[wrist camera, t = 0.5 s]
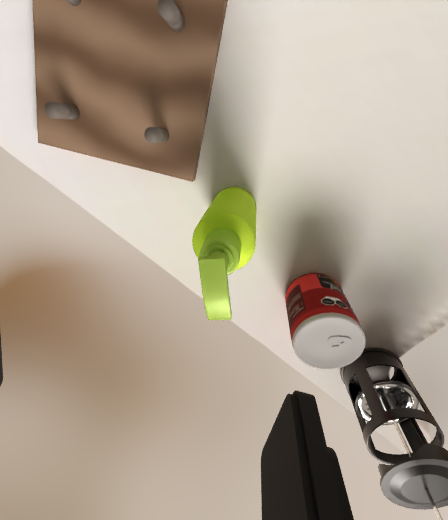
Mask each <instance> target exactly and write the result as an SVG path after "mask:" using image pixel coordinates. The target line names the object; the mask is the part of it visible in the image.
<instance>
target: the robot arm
mask: <svg viewBox="0 0 448 520" xmlns="http://www.w3.org/2000/svg"><path fill="white" fill-rule="evenodd" d="M2 371H3V370H2V352H1V336H0V385H1V384H2V381H3V372H2ZM261 486H262V487H261V492H262V520H354V519H353V515H352V511H351V507H350V504H349V500H348V496H347V492H346V488H345V485H344V481H343V477H342V474H341V470H340V466H339V462H338V458H337V456H336V453H335V451H334V450H333V449H332V448H330V447H327V446H326V442H325V437H324V433H323V429H322V425H321V420H320V416H319V412H318V408H317V404H316V400H315V397H314V396H313V395H311V394H307V393H303V392H299V391H294V392H293V394H288V395H287V396H286V398H285V400H284V403H283V405H282V407H281V409H280V412H279V414H278V417H277V418H276V421H275V423H274V425H273V427H272V430H271V433H270V434H269V437H268V439H267V441H266V443H265V446H264V448H263V451H262V456H261Z"/></svg>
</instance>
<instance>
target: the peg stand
mask: <svg viewBox="0 0 448 520" xmlns="http://www.w3.org/2000/svg"><path fill="white" fill-rule="evenodd" d="M227 1H228V0H33V21H34V47H35V73H36V99H37V124H38V143H42V144H46V145H50V146H54V147H58V148H61V149H65V150H69V151H73V152H77V153H81V154H85V155H89V156H93V157H97V158H101V159H105V160H109V161H113V162H117V163H121V164H125V165H129V166H133V167H137V168H141V169H145V170H149V171H152V172H156V173H160V174H164V175H168V176H172V177H176V178H180V179H184V180H188V181H192V182H193V181H194V180H195V177H196V172H197V166H198V161H199V155H200V150H201V144H202V139H203V133H204V128H205V122H206V117H207V111H208V106H209V100H210V95H211V89H212V84H213V78H214V73H215V67H216V62H217V56H218V51H219V45H220V40H221V34H222V29H223V23H224V18H225V12H226V7H227Z"/></svg>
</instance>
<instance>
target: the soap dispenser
mask: <svg viewBox="0 0 448 520" xmlns="http://www.w3.org/2000/svg"><path fill="white" fill-rule="evenodd" d="M255 238H256V204H255V201H254V199H253V197H252V196H251V194H250V193H249V192H247V191H246V190H244V189H242V188H239V187H229V188H226V189H224V190H222V191H221V192H219V193H218V194H217V196H216V197H215V198H214V200H213V202H212V203H211V205H210V206H209V208H208V209H207V211H206V212H205V214H204V216H203V217H202V219H201V220H200V222H199V223H198V225H197V226H196V228H195V231H194V233H193V240H192V241H193V248H194V251H195V254H196V256H197V257H198V262H199V270H200V278H201V286H202V293H203V299H204V304H205V309H206V314H207V318H208V320H231V306H230V297H229V288H228V278H227V275H229V274H231V273H232V272H234V271H235V270H237V269H239V268H241V267H243V266H244V265H245V264H247V263H248V261H249V260H250V259H251V257H252V255H253V253H254V250H255Z"/></svg>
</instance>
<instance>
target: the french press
mask: <svg viewBox="0 0 448 520" xmlns="http://www.w3.org/2000/svg"><path fill="white" fill-rule="evenodd" d="M377 365H386V366H392V367H394V375H393V377H392V378H391V380H382V381H376V382H373V383H372V381H371V378H370V376H369V374H368V372H367V370H366V368H368V367H371V366H377ZM355 375H356V376H357V379H358V381H359V384H360V386H361V387H360V386H358V385H356V384H355V383H353V382H352V380H351V379H352V378H353V377H354V376H355ZM341 378H342V380H343V382H344V384H345V385H346V388H347V391H348V394H349V396H350V397H351V400H352V403H353V406H354V409H355V412H356V415H357V418H358V420H359V423H360V426H361V429H362V432H363V437H364V440H365V443H366V446H367V449H368V451H369V452H370V454H371V455H372V456H373V457H375V458H376V459H377V460H380V461H382V462H384V463H387V464H391V465H385V464H379V466H378V468H379V472H380V475H381V480H380V486H381V490H382V492H383V494H384V495H385V496H386V497H387V498H388V499H389V500H390V501H392V502H393V503H395V504H397V505H400V506H403V507H406V508H412V509H434V511H435V513H436V515H437V517H438V519H439V520H443V519H442V518H441V515H440V513H439V511H438V509H437V508H440V507H444V506H447V505H448V451H447V450H446V449H444V448H443V444H444V435H443V433H442V431H441V429H440V427H439V426H438V424H437V422H436V421H435V419H434V417H433V416H432V414H431V412H430V411H429V409H428V408H427V406H426V404H425V403H424V401H423V399H422V398H421V396H420V395H419V393H418V391H417V390H416V388H415V386H414V385H413V383H412V381H411V380H410V378H409V377H408V375H407V373H406V372H405V370H404V368H403V365H402V363H401V361H400V359H399V358H398V357H397V356H396V355H395V354H394V353H392V352H390V351H388V350H385V349H380V348H368V349H364V350H363V352H362V353H361V355H360V356H359V357H358V358H357V359H356V360H355V361H353V362H352V363H350V364H348V365H346V366H344V367H341ZM419 403H420V404H421V406H422V408H423V409H424V411H425V412H423V411H421V410H417V408H418V405H419ZM415 419H420V420H424V421H427V422H429V423H431V424H433V425H434V426H436V428H437V432H436V436H435V438H434V440H433V441H432V442H431V443H429V444H428V442H427V441H426V439H425V437H424V435H423V433H422V431H421V430H420V428H419V426H418V424H417V422H416V420H415ZM365 420H366V421H368V422H367V424H366V422H365ZM397 423H399V424H400V426H401V428H402V430H403V432H404V434H405V436H406V438H407V441H408V443H409V445H410V447H411V449H412V451H413V453H411V452H410V450H409V448H408V445H407V443H406V441H405V439H404V437H403V435H402V433H401V431H400V429H399V427H398V424H397ZM391 424H394V425H395V427H396V429H397V431H398V433H399V435H400V437H401V440H402V442H403V444H404V446H405V448H406V450H407V452H408V454H401V455H394V454H393V455H392V454H387V453H383V452H380V451H378V450H376V449H375V447H374V444H373V442H372V439H371V436H370V435H371V433H372V432H373V431H374V430H375V429H376V428H377V427H379V426H380V425H391Z"/></svg>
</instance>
